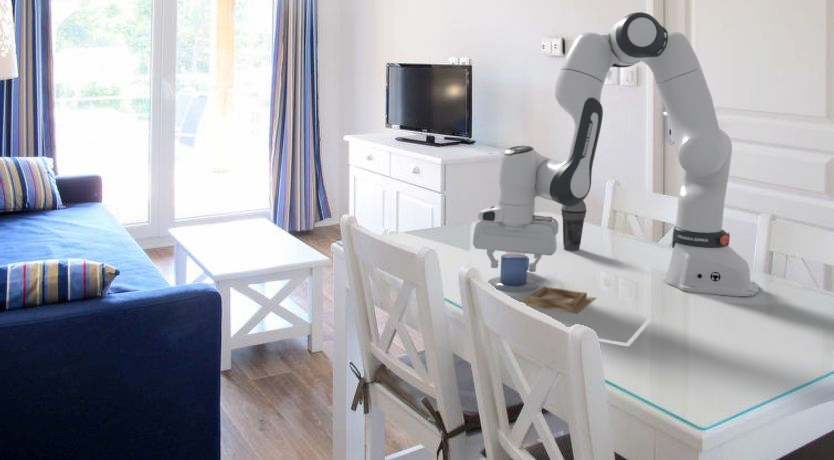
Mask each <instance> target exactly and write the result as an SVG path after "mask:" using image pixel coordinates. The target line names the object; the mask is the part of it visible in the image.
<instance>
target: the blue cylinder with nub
mask: <svg viewBox="0 0 834 460" xmlns="http://www.w3.org/2000/svg"><path fill="white" fill-rule="evenodd" d="M529 264H530V257H529V256H528V255H526V254H525V255H521V254H505V253H504V254H502V255H500V275H499V277H500V283H501V284H503V285H507V286H523V285H526V284H527V279H528V271H529Z"/></svg>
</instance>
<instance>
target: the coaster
mask: <svg viewBox="0 0 834 460" xmlns="http://www.w3.org/2000/svg"><path fill="white" fill-rule="evenodd" d="M487 282H488V283H490V284H491V285H492V286H494V287H495V288H496V289H495V290H497V289H498V290H497V291H502V292H509V293H510V292H511V293H521V292H530V291H533V290H536V289H537V287H538V283H537V282H536V281H535V280H533V279H531V278H527V284H526V285H523V286H507V285H503V284H501V283H500V276H497V277H492V278H491V279H490V278H489V280H488V281H487ZM488 283H487V284H488Z"/></svg>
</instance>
